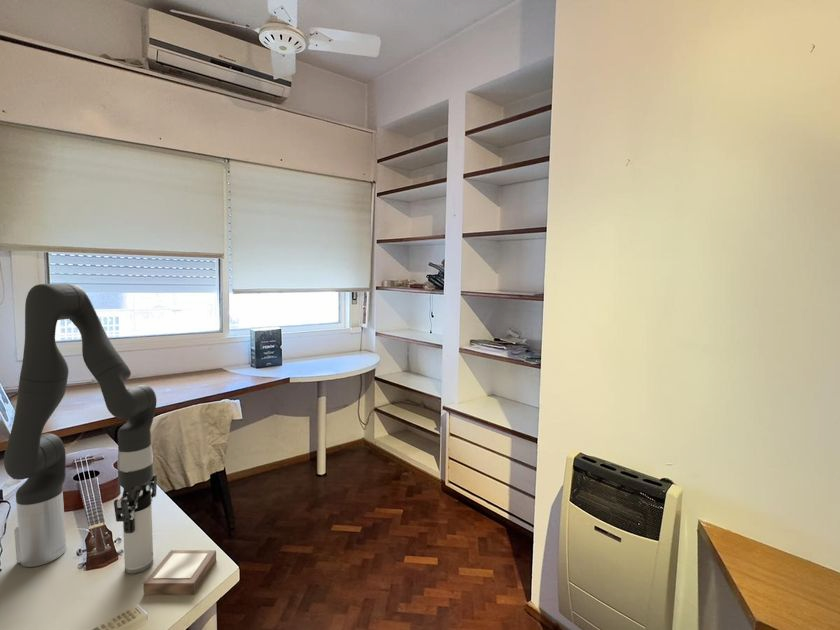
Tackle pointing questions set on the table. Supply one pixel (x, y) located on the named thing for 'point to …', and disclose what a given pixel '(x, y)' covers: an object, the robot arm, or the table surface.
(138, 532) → the travel mug
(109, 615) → the table surface
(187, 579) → the plinth
